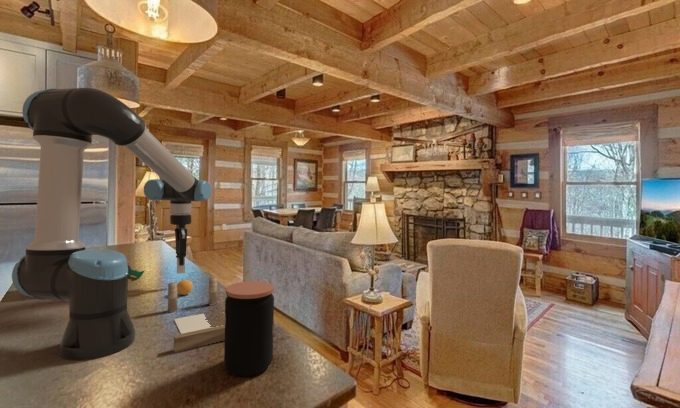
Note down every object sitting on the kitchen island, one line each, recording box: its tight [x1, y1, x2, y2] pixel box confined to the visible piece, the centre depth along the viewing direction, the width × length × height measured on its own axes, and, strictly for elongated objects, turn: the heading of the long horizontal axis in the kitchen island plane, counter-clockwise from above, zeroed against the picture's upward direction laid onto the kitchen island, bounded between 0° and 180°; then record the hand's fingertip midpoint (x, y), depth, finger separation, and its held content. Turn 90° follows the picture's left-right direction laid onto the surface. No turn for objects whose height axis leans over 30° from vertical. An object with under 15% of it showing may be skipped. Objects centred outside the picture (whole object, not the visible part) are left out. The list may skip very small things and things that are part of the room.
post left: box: [167, 282, 178, 313], centre depth 105 cm, size 3×3×9 cm
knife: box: [127, 264, 145, 279], centre depth 144 cm, size 20×2×5 cm, turn 61°
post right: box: [208, 276, 218, 305], centre depth 112 cm, size 3×3×9 cm
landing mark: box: [173, 313, 212, 334], centre depth 97 cm, size 14×14×1 cm
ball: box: [177, 279, 194, 296], centre depth 122 cm, size 6×6×6 cm
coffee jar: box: [223, 280, 275, 378], centre depth 74 cm, size 11×11×18 cm
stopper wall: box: [173, 325, 225, 354], centre depth 85 cm, size 2×20×4 cm, turn 125°
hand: (180, 272), depth 130 cm, fingers closed
